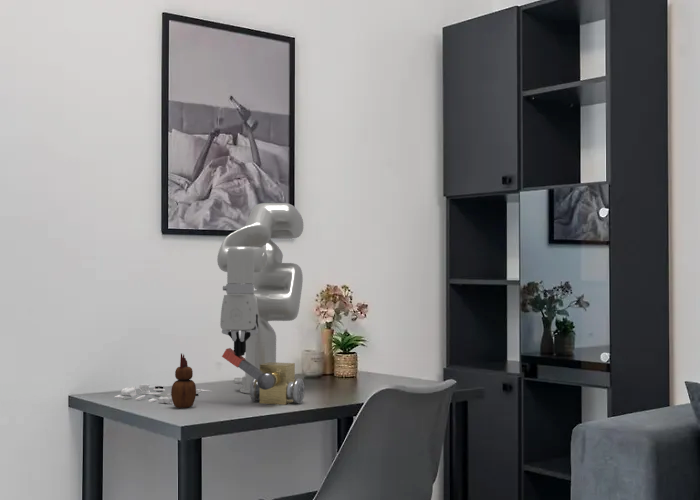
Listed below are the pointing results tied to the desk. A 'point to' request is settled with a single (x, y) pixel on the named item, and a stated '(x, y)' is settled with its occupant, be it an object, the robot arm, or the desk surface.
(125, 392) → the miniature set
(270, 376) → the lever
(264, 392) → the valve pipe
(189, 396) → the wooden figurine
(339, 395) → the desk surface
